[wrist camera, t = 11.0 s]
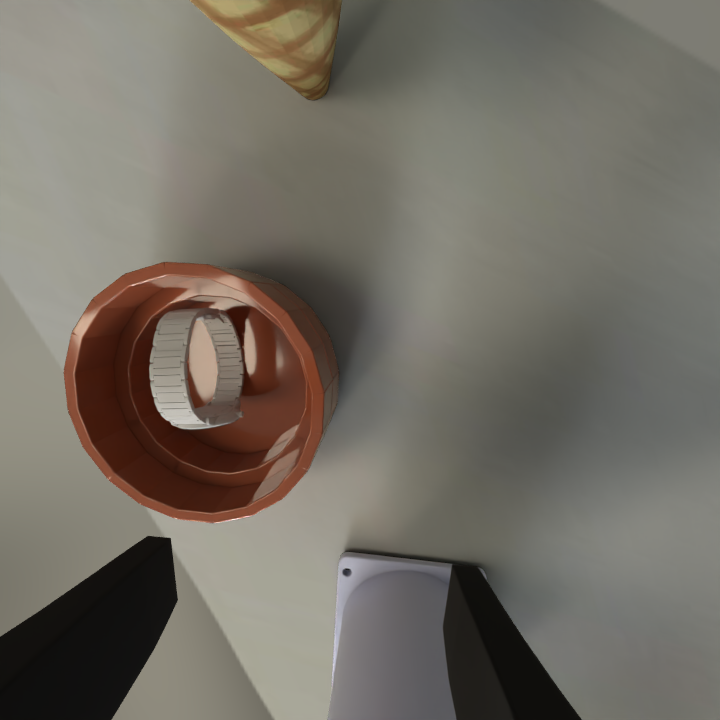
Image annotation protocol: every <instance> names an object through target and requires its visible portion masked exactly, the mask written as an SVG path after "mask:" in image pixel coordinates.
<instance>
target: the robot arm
mask: <svg viewBox="0 0 720 720" xmlns="http://www.w3.org/2000/svg"><path fill="white" fill-rule="evenodd" d="M345 568H348V569H350V571H347V570H345ZM177 600H178V598H177V591H176V581H175V572H174V563H173V555H172V545H171V538H164V537H153V536H147V537H146V538H144V539H143V540H141V541H140V542H138V543H137V544H135V545H134V546H132V547H131V548H129V549H128V550H126V551H125V552H124V553H122V554H121V555H119V556H118V557H116V558H115V559H114V560H112V561H111V562H109V563H108V564H107V565H105V566H104V567H102V568H101V569H99V570H98V571H97V572H96V573H94V574H92V575H91V576H90V577H88V578H87V579H85V580H84V581H82V582H81V583H79V584H78V585H77V586H75V587H74V588H72V589H71V590H69V591H68V592H66V593H65V594H64V595H62V596H61V597H59V598H58V599H56V600H55V601H53V602H52V603H51V604H49V605H48V606H46V607H45V608H43V609H42V610H41V611H39V612H38V613H36V614H34V615H33V616H31V617H30V618H28V619H27V620H25V621H24V622H22V623H21V624H19V625H17V626H16V627H15V628H13V629H11V630H10V631H8V632H7V633H5V634H4V635H2V636H1V637H0V720H111V719H112V718H113V716H114V715H115V713H116V711H117V710H118V708H119V707H120V705H121V703H122V702H123V700H124V698H125V697H126V695H127V693H128V692H129V690H130V688H131V687H132V685H133V683H134V682H135V680H136V678H137V677H138V675H139V674H140V672H141V670H142V669H143V667H144V665H145V664H146V662H147V660H148V658H149V657H150V655H151V653H152V652H153V650H154V648H155V646H156V644H157V642H158V640H159V638H160V636H161V634H162V632H163V630H164V628H165V626H166V624H167V622H168V620H169V618H170V616H171V613H172V611H173V609H174V607H175V605H176V603H177ZM327 720H582V719H581V718H580V717H579V715H578V714H577V713H576V711H575V710H574V709H573V707H572V706H571V705H570V703H569V702H568V701H567V699H566V698H565V697H564V695H563V694H562V692H561V691H560V690H559V688H558V687H557V685H556V684H555V683H554V681H553V680H552V678H551V677H550V676H549V674H548V673H547V671H546V670H545V668H544V667H543V666H542V664H541V663H540V661H539V660H538V658H537V657H536V655H535V654H534V653H533V651H532V650H531V648H530V647H529V645H528V644H527V643H526V641H525V640H524V638H523V637H522V635H521V634H520V632H519V631H518V629H517V628H516V626H515V625H514V623H513V621H512V620H511V618H510V617H509V615H508V614H507V612H506V611H505V609H504V608H503V606H502V604H501V603H500V601H499V600H498V598H497V596H496V595H495V593H494V592H493V590H492V588H491V587H490V585H489V584H488V582H487V577H486V574H485V572H484V570H483V569H481V568H479V567H476V566H466V565H457V564H448V563H440V562H431V561H423V560H414V559H406V558H397V557H389V556H380V555H371V554H363V553H354V552H344V553H342V554H341V555H340V558H339V565H338V582H337V600H336V617H335V635H334V653H333V670H332V692H331V699H330V706H329V712H328V719H327Z"/></svg>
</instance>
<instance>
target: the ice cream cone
mask: <svg viewBox="0 0 720 720" xmlns="http://www.w3.org/2000/svg"><path fill="white" fill-rule="evenodd" d="M190 1H191V2H192V3H193V4H194V5H195V6H196V7H197V8H199V9H200V10H201V11H202V12H203V13H204V14H205V15H206V16H207V17H208V18H209V19H211V20H212V21H213V22H214V23H215V24H216V25H217V26H218V27H219V28H220V29H221V30H223V31H224V32H225V33H226V34H227V35H228V36H229V37H230V38H231V39H232V40H234V41H235V42H236V43H237V44H238V45H240V46H241V47H242V48H243V49H244V50H246V51H247V52H248V53H249V54H250V55H252V56H253V57H254V58H255V59H256V60H258V61H259V62H260V63H261V64H262V65H264V66H265V67H266V68H267V69H269V70H270V71H271V72H273V73H274V74H275V75H277V76H278V77H279V78H280V79H282V80H283V81H284V82H286V83H287V84H288V85H289V86H291V87H292V88H293V89H295V90H296V91H297V92H298V93H300V94H301V95H302V96H304V97H305V98H307V99H310V100H316V99H319V98H321V97H322V96H324V95H325V94H326V92H327V90H328V86H329V80H330V74H331V68H332V62H333V56H334V50H335V45H336V39H337V33H338V26H339V19H340V11H341V4H342V0H190Z"/></svg>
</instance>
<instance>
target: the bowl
mask: <svg viewBox="0 0 720 720" xmlns="http://www.w3.org/2000/svg"><path fill="white" fill-rule="evenodd" d="M196 308H216V309H219V310H223V311H225V312H226V313H227V314H228V315H229V316H230V317H231V319H232V321H233V324H234V325H235V328H236V331H237V334H238V335H237V336H238V337H239V339H240V343H241V348H242V352H243V361H244V371H245V372H244V374H241V375H244V384H243V387H242V388H243V390H242V394H241V398H240V399H239V400H240V404H241V406H240V408H239V409H240V410H241V411H243V412H244V416H243V417H240V418H239V419H238V420H237V421H235V422H233V423H231V424H228V425H224V426H220V427H216V428H210V429H201V430H184V429H180V428H178V427H176V426H173V425H171V422H170V421H167V420H166V419H164V418H163V417H162V416H161V414H160V412H159V411H158V410H157V407H156V405H155V403H154V398H155V397H153V395H152V390H151V385H150V383H151V380H150V373H149V366H150V364H153V363H150V355H151V351H152V348H153V347H155V346H153V340H154V334H155V332H156V331H157V330H156V327H157V325H158V322H159V320H160V319H161V318H162V317H163V316H164V315H165V314H166V313H168V312H170V311H174V310H180V309H196ZM206 327H207V326H205V325H204V324H203V322H202V321H201V320H196V321H195V324H194V326H193V329H191V330H192V334H191V340H190V345H188V346H189V353H188V360H187V362H186V363H187V375H188V379H185V380H188V384H189V390H190V395H189V396H191V399H192V402H193V405H194V408H199V407H203V406H205V405H206V404H207V403H208V402H211V401H212V399H213V395H214V391H215V388H217V387H216V382H217V376H218V374H217V363H218V362H220V361H218V362H217V360H216V355H215V350H216V349H214V347H213V344H212V341H211V338H212V337H210V336H209V333H208V331H207V329H206ZM233 366H235V365H233ZM338 370H339V368H338V364H337V360H336V357H335V353H334V349H333V346H332V342H331V339H330V336H329V334H328V333H327V331H326V330H325V328H324V327H323V325H322V324H321V322H320V320H319V319H318V317H317V316H316V314H315V313H314V311H313V310H312V308H311V307H310V306H309V305H307V304H306V303H305V302H304V301H303V300H301V299H300V298H299V297H298V296H297V295H295V294H294V293H293V292H292V291H291V290H289V289H288V288H287V287H286V286H285V285H283V284H280V283H278V282H275V281H273V280H270V279H268V278H266V277H263V276H261V275H258V274H256V273H253V272H249V271H244V270H238V269H232V268H226V267H220V266H214V265H209V264H194V263H177V262H162V263H159V264H156V265H152V266H149V267H146V268H142V269H139V270H136V271H132V272H129V273H126V274H125V275H122V276H121V277H120V278H119V279H117V280H116V281H115V282H113V283H112V284H111V285H109V286H108V287H107V288H106V289H104V290H103V291H102V292H100V293H99V294H98V295H97V296H95V297H94V298H93V299H92V300H91V302H90V303H89V305H88V307H87V308H86V310H85V312H84V313H83V315H82V316H81V318H80V320H79V321H78V323H77V325H76V326H75V328H74V329H73V331H72V333H71V338H70V343H69V348H68V352H67V357H66V362H65V367H64V379H65V389H66V397H67V407H68V410H69V411H68V412H69V415H70V417H71V419H72V422H73V424H74V427H75V429H76V431H77V434H78V436H79V439H80V441H81V444H82V446H83V447H84V449H85V450H86V452H87V453H88V455H89V456H90V457H91V458H92V460H93V461H94V462H95V464H96V465H97V466H98V467H99V469H100V470H101V471H102V473H103V474H104V475H105V476H106V478H107V479H109V481H110V482H112V483H113V484H114V485H116V486H117V487H118V488H120V489H121V490H122V491H123V492H125V493H126V494H127V495H129V496H130V497H132V498H133V499H134V500H135V501H137V502H138V503H139V504H140V503H141V505H143V506H146V507H148V508H150V509H153V510H155V511H158V512H160V513H163V514H165V515H167V516H170V517H172V518H175V519H176V518H177V519H180V520H189V521H198V522H206V523H219V522H224V521H230V520H235V519H240V518H246V517H250V516H253V515H255V514H256V513H258V512H260V511H262V510H264V509H265V508H267V507H269V506H271V505H273V504H274V503H276V502H278V501H280V500H282V499H283V498H284V497H285V496H286V495H287V494H288V493H289V492H290V491H291V489H292V488H293V487H294V486H295V485H296V484H297V483H298V482H299V480H300V479H301V478H302V477H303V476H304V475H305V474H306V472H307V471H308V469H309V468H310V466H311V464H312V461H313V459H314V457H315V455H316V453H317V451H318V448H319V446H320V444H321V442H322V440H323V438H324V435H325V433H326V431H327V429H328V426H329V424H330V421H331V419H332V416H333V414H334V411H335V409H336V406H337V402H338V386H339V371H338ZM231 371H234V370H231ZM153 381H154V380H153Z"/></svg>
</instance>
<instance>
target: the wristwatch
mask: <svg viewBox="0 0 720 720" xmlns="http://www.w3.org/2000/svg"><path fill="white" fill-rule="evenodd" d="M196 320H201V321H202V322H203V324H204V325H205V326H207V327H206V329H207V331H208V333H209V336H210V337H212V338H211V341H212V344H213V347H214V349H216V350H215V355H216V360H217V362H218V361H220V362H218V363H217V374H218V376H217V382H216V387H217V388H215V391H214V395H213V399H212V401H211V402H208V403H207V404H206V405H205V406H203V407H199V408H194V405H193V402H192V399H191V396H189V395H190V390H189V384H188V380H185V379H188V375H187V363H186V362H187V360H188V353H189V346H188V345H190V340H191V334H192V330H191V329H193V326H194V324H195V321H196ZM156 330H157V331H156V332H155V334H154V340H153V346H155V347H153V348H152V351H151V355H150V363H153V364H150V366H149V373H150V380H151V383H150V385H151V390H152V395H153V397H155V398H154V403H155V405H156V407H157V410H158V411H159V412H160V414H161V416H162V417H163V418H164V419H166V420H167V421H170V422H171V425H173V426H176V427H178V428H180V429H184V430H201V429H210V428H216V427H220V426H224V425H228V424H231V423H233V422H235V421H237V420H238V419H239V418H240V417H243V416H244V412H243V411H241V410H240V409H239V408H240V406H241V404H240V400H239V399H240V398H241V394H242V390H243V388H242V387H243V384H244V375H241V374H244V372H245V371H244V361H243V352H242V348H241V343H240V339H239V337H238V336H237V335H238V334H237V331H236V328H235V325H234V324H233V321H232V319H231V317H230V316H229V315H228V314H227V313H226V312H225V311H223V310H219V309H216V308H196V309H180V310H174V311H170V312H168V313H166V314H165V315H164V316H163V317H162V318H161V319H160V320H159V322H158V325H157V327H156ZM233 365H235V366H233ZM231 370H234V371H231ZM153 380H154V381H153Z"/></svg>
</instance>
